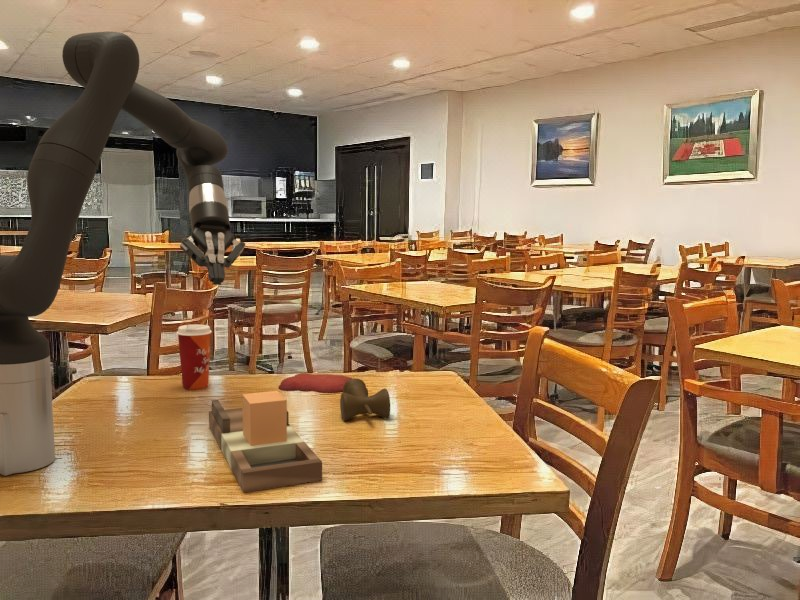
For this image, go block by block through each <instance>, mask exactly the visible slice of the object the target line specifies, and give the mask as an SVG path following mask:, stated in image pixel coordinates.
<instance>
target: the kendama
mask: <svg viewBox="0 0 800 600" xmlns="http://www.w3.org/2000/svg"><path fill="white" fill-rule="evenodd" d="M339 405H340V407H339V408H340V415H341V418H342V420H343V421H345V422H347V421H349V420H351V419H353V418H354V417H356V416H358V415H362V414H363V415H364V414H365V415H366V414H367V415H369V416H371V415H373V414H374V415H376V416H379V417H381V418H384V419H386V420H388V419H389V417H390V415H391V397H390V394H389V391H388V389H387V388H382V389H381V390H379V391H377V392H376V393H375V394H373V395H369V390H368V388H367V385H366V383H365V382H364V381H363V380H362V379H360V378H353V379H350V380H348V381H346V383H345V384H344V387H343V392H341V394H340V400H339Z"/></svg>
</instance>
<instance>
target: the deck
mask: <svg viewBox="0 0 800 600" xmlns="http://www.w3.org/2000/svg"><path fill="white" fill-rule="evenodd" d="M289 414H290V413H289V411H288V410H287V441H283V442H275V443H267V444H260V445H252V446H250V444H249V443H248V441H247V440H246V438H245V437H244V435H243V407H237V408H230V409H224V406H223V405H222V404H221V402H220V400H219V399H213V400H212V399H211V411H208V427H209V430H210V431H211V433H212V435H213V438H214V439H215V440H216V443H217V444H218V446H219V448H220V450H221V453H222V455H223V456H224V458H225V460H226V461H227V463H228V466H229V468H230V470H231V471H232V473H233V475H234V477H235V479H236V481H237V483H238V485H239V487H240V489H241V491H242V492H243V493H250V492H251V493H252V492H256V491H262V490H263V491H264V490H269V489H276V488H281V486H283V487H288V486H287V485H290V486H294V484H296V485H301V484H300V483H303V484H308V483H307V482H309V483H314V482H315V481H316V482H320V481H319V480H322V481H323V461H322V460H321V459H320V457H319V456H318V454H316V453H315V452H314V450H313V449H312V448H311V447H310V446H309V445H308V444H307V443H306V442H305V440H304V439H303V438H302V437H301V436H300V435H299V434H298V432H297V431H296V430H295V429H294V427H292V426H291V425H290V422H289V419H290V418H289V416H290V415H289Z"/></svg>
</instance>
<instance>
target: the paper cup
mask: <svg viewBox="0 0 800 600" xmlns="http://www.w3.org/2000/svg"><path fill="white" fill-rule="evenodd" d="M211 333H213V331H212V330H211V327H210V325H209V324H208V325H207V324H198V323H197V324H196V323H195V324H185V325H180V326H178V329H177V331H176V334H177V336H178V337H177V338H178V347H179V349H178V351H179V360H180V361H179V362H180V372H181V384H182V389H184V390H188V391H197V390H198V391H200V390H204V389H207V388H208V387H209V378H210V355H211V353H210V352H211Z"/></svg>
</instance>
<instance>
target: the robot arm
mask: <svg viewBox="0 0 800 600" xmlns="http://www.w3.org/2000/svg"><path fill="white" fill-rule="evenodd" d="M138 49H139V48H138V47H137V45H136V43H135V41H134V40H133V38H131V37H130V36H128V35H127V34H125V33H122V32H117V31H98V32H97V31H96V32H95V31H94V32H84V33H78V34H74V35H72V36H70V37H69V38H68V39H67V40H66V41H65V43H64V44H63V48H62V55H61V56H62V62H63V65H64V68H65V70H66V72H67V73H68V74H67V75H69V76H70V78H71V79H72V80H73V81H74V82H75V83H77V84H78V85H80V86H81V87H82V88H84V90H83V91H82V92H81V95H80V96H79V97H78V98H77V99H76V101H75V102H74V103H73V104H72V105H71V106H70V107H69V108H68V109H66V111H65V112H63V114H61V115H60V116H59V118H57V119H56V120H55V122H54V123H52V124H51V125H50V127H49V128H47V130H45V132H44V134H43V135H42V137H41V138H40V140H39V142H38V144H37V147H36V148H35V151H34V153H33V157H32V159H31V161H30V164H29V167H28V170H27V176H26V183H27V184H26V186H27V194H28V198H29V204H30V205H29V206H30V213H31V218H30V226H29V228H28V231H27V234H26V237H25V238H24V241H23V245H22V246H21V249H20V251H19V253H17V255H7V254H0V475H2V476H10V475H12V474H13V475H14V474H19V473H26V472H32V471H36V470H38V469H42V468H44V467H47V466H49V465H50V464H53V462H54V461H55V459H56V451H55V450H56V449H55V448H56V445H55V431H54V430H55V428H54V410H53V409H54V407H53V393H52V392H53V391H52V373H51V372H52V371H51V370H52V369H51V351H50V341H49V340H48V338H47V337H46V336H45V335H44V334H42V333H41V332H39V331H38V330H37V329H36V328H35V326H33V325H32V322H30V319H29V317H31V318H32V317H36V316H37V317H38V316H40V315H42V314H44V313H45V312H46V311H48V309H49V308H50V307H51V305H52V304H53V302H54V301H55V299H56V297H57V295H58V292H59V289H60V287H61V286H60V285H61V283H62V278H63V274H64V269H65V265H66V262H67V258H68V253H69V250H70V247H71V246H70V245H71V242H72V239H73V236H74V233H75V230H76V226H77V223H78V220H79V218H80V214H81V212H82V209H83V205H84V202H85V200H86V198H87V195H88V193H89V190H90V188H91V186H92V183H93V180H94V178H95V175H96V172H97V170H98V167H99V164H100V161H101V157H102V155H103V152H104V149H105V146H106V144H107V142H108V139H109V137H110V134H111V133H112V130H113V128H114V126H115V122H116V120H117V118H118V116H119V114H120V112H121V110H122V111H124V112H125V113H127V114H129V115H130V116H132V117H133V118H135V119H136V120H138V121H139V122H140V123H142V124H143V125H145V126H146V128H149V129H150V130H151V131H152V132H153V133H154V134H155V135H157V136H158V137H159V138H161V139H162V140H163V141H164V142H165V143H167V144H168V146H170V147H172V148H175V149H176V157H177V160H178V162H179V164H180V166H181V167H182V170H183V172H184V174H185V177H186V179H187V185H188V193H189V199H188V201H189V202H188V210H189V215H190V217H189V218H190V225H191V233H190V235H189V237H182V239H181V242H180V245H179V248H180V249H181V250H182V251H183V252H184V253H185V254H186V255H187V257H189V258H190V259H191V260H192V261H193V262H194V263H195V264H196V265H197V266H198V267H202V266H203V267H206V269H207V274H208V275H207V276H208V277H207V278H208V281H209V282H211V283H212V285H213V286H214V285H215V286H221V284H222V283H224V281H225V278H226V273H225V268H226V269H229V268H230V267H231V266H232V265H233V264H234V262H235V261H236V260H237V259H238V258H239V257H240V255H241V254H243V252H244V249H245V246H246V243H245V242H244V241H240V242H239V241H237V240H236V239H235V236H234V234H233V232H232V230H231V222H230V214H229V209H228V208H229V207H228V201H227V197H226V194H225V188H224V182H223V174H222V172H221V171H220V169H219V168H218V167H216V166H214V165H216V164H218V163H220V162H222V161H223V160H224V159H225V158H226V157H227V155H228V144H227V142H226V140H225V138H224V136H222V135H221V134H220V132H218V131H217V130H215V129H214V128H212V127H211V126H209V125H206V124H204V123H202V122H200V121H198V120H196V119H192V118H191V117H190V116H189V115H188V113H186V112H185V111H183V109H181V107H179V106H178V105H177V104H176V103H175V102H174V101H171V100H170V99H168V97H165V96H164V95H162V94H160V93H158V92H156V91H153V90H151V89H150V88H147V87H146V86H144V85H141V84H139V83H138V82H136V80H137V77H138V73H139V69H140V54H139V50H138ZM230 247H231V251H230V253H229V254H228V255H227V257H225V253H226V252H227V251H228V249H229V248H230Z"/></svg>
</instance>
